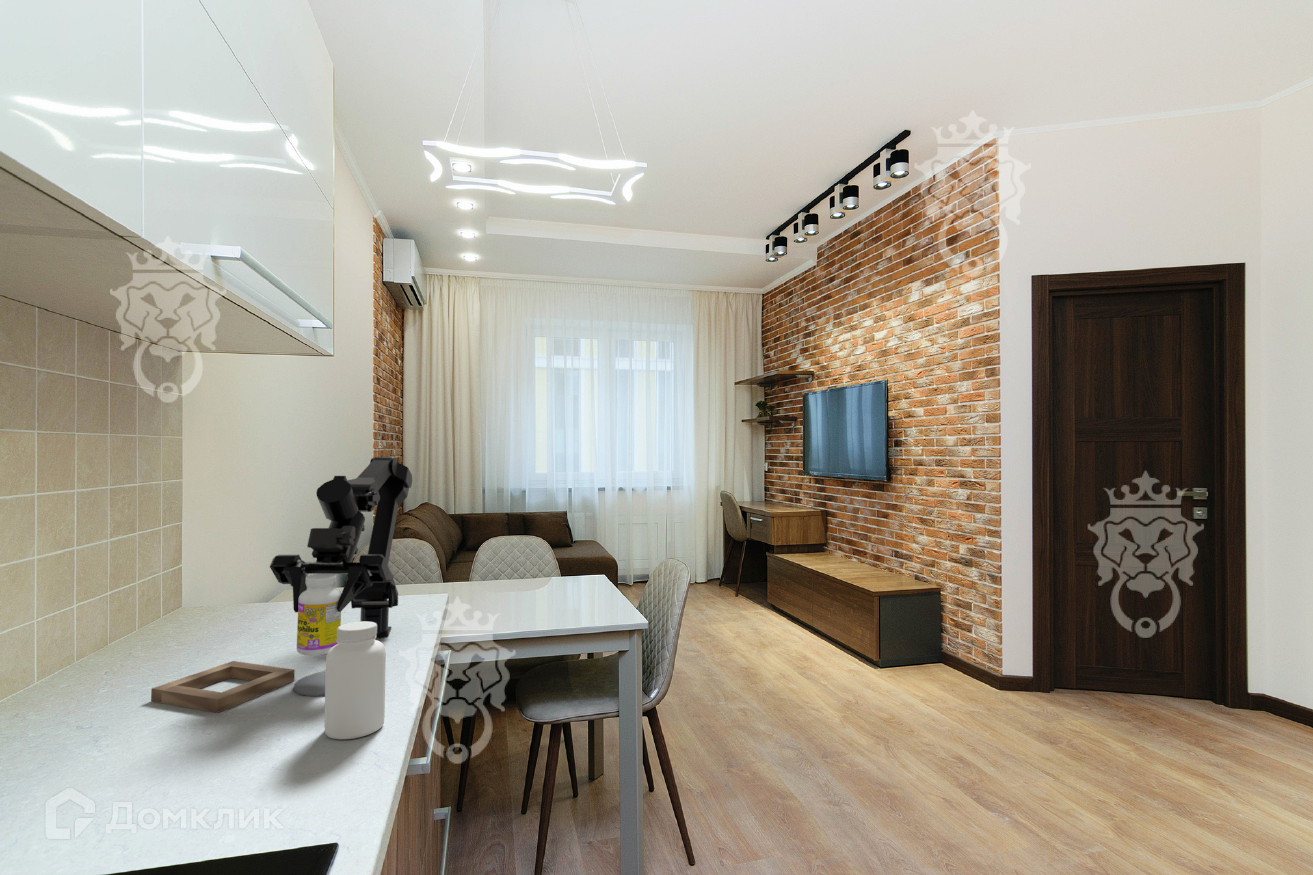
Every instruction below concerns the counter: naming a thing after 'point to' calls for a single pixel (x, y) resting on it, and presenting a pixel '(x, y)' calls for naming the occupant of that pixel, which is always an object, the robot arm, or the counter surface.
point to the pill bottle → (355, 682)
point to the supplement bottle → (318, 615)
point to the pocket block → (193, 697)
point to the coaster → (311, 685)
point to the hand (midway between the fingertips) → (317, 610)
